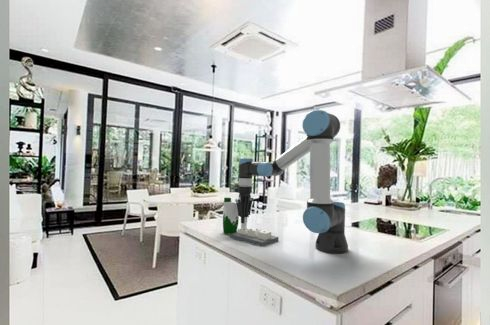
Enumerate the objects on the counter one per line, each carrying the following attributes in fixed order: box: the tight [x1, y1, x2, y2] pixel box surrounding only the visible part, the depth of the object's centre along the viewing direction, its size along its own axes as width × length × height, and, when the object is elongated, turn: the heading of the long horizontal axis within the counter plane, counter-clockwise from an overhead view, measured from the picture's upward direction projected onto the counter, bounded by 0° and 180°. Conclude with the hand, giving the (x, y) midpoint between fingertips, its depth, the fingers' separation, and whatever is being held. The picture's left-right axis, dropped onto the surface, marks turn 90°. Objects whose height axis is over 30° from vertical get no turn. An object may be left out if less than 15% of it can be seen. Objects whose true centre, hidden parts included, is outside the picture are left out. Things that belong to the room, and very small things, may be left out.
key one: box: [258, 230, 272, 240], centre depth 141 cm, size 5×5×4 cm
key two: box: [247, 227, 262, 237], centre depth 146 cm, size 5×5×4 cm
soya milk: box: [222, 197, 240, 235], centre depth 160 cm, size 9×9×20 cm
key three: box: [237, 228, 248, 235], centre depth 150 cm, size 5×5×4 cm
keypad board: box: [229, 231, 279, 247], centre depth 146 cm, size 22×14×2 cm, turn 50°
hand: (243, 228), depth 150 cm, fingers closed
